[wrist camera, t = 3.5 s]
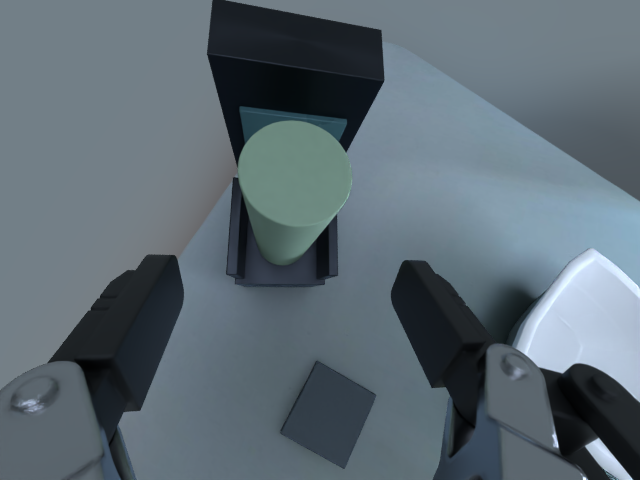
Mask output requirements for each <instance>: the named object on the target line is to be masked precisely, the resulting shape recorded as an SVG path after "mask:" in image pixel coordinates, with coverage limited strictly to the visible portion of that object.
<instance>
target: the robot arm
mask: <svg viewBox="0 0 640 480" xmlns="http://www.w3.org/2000/svg"><path fill="white" fill-rule="evenodd" d="M458 295H459V294H458V293H457V292H456V291H455V289H454V288H453V287H452V285H451V284H450V283H449V282H447V281H446V280H445V279H444V278H442V277H441V276H440V275H438V274H435V272H434V271H433V270H432V268H431V267H430V266H429V264H428V263H427V262H426V261H419V260H405V261H403V262H402V264H401V266H400V269H399V272H398V274H397V277H396V279H395V282H394V285H393V287H392V290H391V301H392V305H393V307H394V309H395V311H396V313H397V316H398V318H399V320H400V322H401V324H402V326H403V328H404V330H405V332H406V335H407V337H408V339H409V341H410V343H411V345H412V347H413V349H414V351H415V354H416V356H417V358H418V360H419V362H420V364H421V366H422V368H423V370H424V373H425V375H426V377H427V379H428V381H429V383H430V385H431V387H432V388H440V387H446V388H447V390H448V392H449V394H450V397H449V399H448V404H447V411H446V419H445V427H444V434H443V442H442V450H441V457H440V462H439V466H438V468H437V471H436V473H435V475H434V477H433V480H610V478H609V477H608V476H607V475H606V473H605V472H604V471H603V469H602V468H601V467H600V465H599V464H598V463H597V461H596V460H595V459H594V457H593V456H592V455H591V453H590V452H589V451H588V450H587V448H586V447H585V446H586V445H588V444H590V443H591V442H593V441H595V440H596V439H598V438H599V439H600V440H601V441H602V442H603V443H604V445H605V446H606V447H607V448H608V450H609V451H610V452H611V453H612V455H613V456H614V457H615V458H616V459H617V461H618V462H619V463H620V464H621V466H622V467H623V468H624V469H625V470H626V472H627V473H628V474H629V475H630V477H631V478H632V479H633V480H640V402H639V401H638V400H637V399H636V398H634V397H633V396H632V395H631V394H630V393H629V392H628V391H627V390H626V389H625V388H624V387H623V386H622V385H621V384H620V383H619V382H617V381H616V380H615V379H613V378H612V377H611V376H609V375H608V374H606V373H604V372H603V371H601V370H599V369H597V368H595V367H593V366H590V365H587V364H582V363H575V364H573V365H572V366H571V367H569V368H568V369H567V370H566V371H565V372H564V373H559V372H556V371H552V370H548V369H544V368H540V367H538V366H537V365H536V364H535V363H534V362H533V361H532V360H531V359H530V358H529V357H528V356H526V355H525V354H524V353H522V352H521V351H519V350H517V349H515V348H513V347H511V346H508V345H505V344H497V343H496V341H495V340H494V339H493V338H492V336H491V335H490V334H489V333H488V331H487V330H486V329H485V327H484V326H483V325H482V324H481V322H480V321H479V320H478V319H477V317H476V316H475V315H474V313H473V312H472V311H471V310H470V308H469V307H468V306H466V303H465V302H464V301H463V299H462V298H461V297H459V296H458ZM183 300H184V289H183V284H182V279H181V275H180V270H179V265H178V261H177V258H176V256H175V255H147V256H146V257H145V258H144V259H143V261H142V262H141V264H140V265H139V266H138V268H137V269H136V270H127V271H126V272H124V273H123V274H122V275H120V276H119V277H117V278H116V279H114V280H113V281H111V282H110V284H109V285H108V286H107V287H106V289H105V290H104V292H103V293H102V294H101V295H100V299H97V300H96V301H95V303H94V304H93V305H92V307H91V310H90V311H88V312H87V313H86V314H85V316H84V317H83V318H82V319H81V321H80V322H79V324H78V325H77V326H76V327H75V328H74V330H73V331H72V332H71V334H70V335H69V336H68V337H67V339H66V340H65V341H64V342H63V344H62V345H61V346H60V348H59V349H58V350H57V351H56V353H55V354H54V355H53V357H52V358H51V359H50V360H49V362H48V363H47V364H44V365H41V366H39V367H36V368H33V369H31V370H29V371H27V372H25V373H23V374H22V375H20V376H18V377H17V378H15V379H14V380H13V381H11V382H10V383H8V384H7V385H6V386H5V387H4V388H2V389H1V390H0V480H137V479H136V476H135V473H134V470H133V467H132V464H131V461H130V458H129V455H128V451H127V448H126V445H125V442H124V439H123V436H122V433H121V430H120V428H119V426H118V423H119V421H120V419H121V416H122V414H123V412H129V411H140V410H141V407H142V405H143V403H144V400H145V398H146V395H147V393H148V390H149V388H150V385H151V383H152V380H153V378H154V375H155V373H156V370H157V368H158V365H159V363H160V360H161V358H162V355H163V353H164V351H165V348H166V346H167V343H168V341H169V338H170V336H171V333H172V331H173V328H174V326H175V323H176V321H177V318H178V316H179V313H180V311H181V308H182V305H183Z"/></svg>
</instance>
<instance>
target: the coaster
mask: <svg viewBox="0 0 640 480" xmlns="http://www.w3.org/2000/svg"><path fill="white" fill-rule="evenodd" d="M375 398H376V395H375V394H374V393H372V392H370V391H368V390H367V389H365V388H363V387H361V386H360V385H358V384H356V383H355V382H353V381H351V380H349V379H348V378H346V377H344V376H343V375H341V374H339V373H337V372H336V371H334V370H332V369H330V368H329V367H327V366H325V365H324V364H322V363H320V362H318V361H317V362H316V364H315V365H314V367H313V369H312V371H311V373H310V375H309V377H308V379H307V381H306V383H305V385H304V387H303V389H302V391H301V393H300V394H299V396H298V398H297V400H296V402H295V404H294V406H293V408H292V410H291V412H290V414H289V416H288V418H287V420H286V421H285V423H284V425H283V427H282V429H281V434H282V435H284V436H286V437H288V438H289V439H291V440H293V441H295V442H297V443H298V444H300V445H302V446H304V447H306V448H307V449H309V450H311V451H313V452H315V453H316V454H318V455H320V456H322V457H323V458H325V459H327V460H329V461H331V462H332V463H334V464H336V465H338V466H340V467H341V468H343V469H345V467H346V464H347V462H348V460H349V457H350V455H351V453H352V451H353V448H354V446H355V444H356V441H357V439H358V437H359V435H360V432H361V430H362V428H363V425H364V423H365V421H366V419H367V416H368V414H369V412H370V409H371V407H372V405H373V403H374V400H375Z"/></svg>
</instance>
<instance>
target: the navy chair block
mask: <svg viewBox="0 0 640 480" xmlns="http://www.w3.org/2000/svg"><path fill="white" fill-rule="evenodd" d="M207 55H208V59H209V63H210V67H211V70H212V74H213V78H214V82H215V85H216V89H217V93H218V97H219V100H220V104H221V107H222V112H223V115H224V119H225V123H226V127H227V130H228V134H229V138H230V142H231V145H232V149H233V153H234V156H235V160H236V164H237V167H238V162H239V157H240V154H241V152H242V149H243V147H244V146H245V144H246V143H247V141H248V140H249V139H250V138H251V137H252V135H254V134H255V133H256V132H257V131H259V130H260V129H262V128H263V127H265V126H267V125H270V124H272V123H276V122H280V121H289V120H293V121H302V122H307V123H310V124H313V125H316V126H318V127H320V128H322V129H323V130H325V131H327V132H328V133H329V134H331V135H332V136H333V137H334V138H335V139H336V140H337V141H338V142H339V143H340V144H341V146H342V147H343V149H344V150H345V152H347V150H348V148H349V146H350V145H351V143H352V141H353V139H354V137H355V135H356V133H357V131H358V130H359V128H360V126H361V124H362V122H363V120H364V118H365V116H366V115H367V113H368V111H369V109H370V107H371V105H372V103H373V101H374V99H375V98H376V96H377V94H378V92H379V90H380V88H381V86H382V84H383V83H384V66H383V49H382V33H381V30H378V29H373V28H367V27H362V26H357V25H352V24H347V23H342V22H336V21H331V20H326V19H320V18H315V17H310V16H305V15H299V14H294V13H289V12H283V11H278V10H273V9H268V8H263V7H258V6H252V5H247V4H242V3H236V2H231V1H226V0H213V1H212V10H211V20H210V30H209V39H208V50H207ZM226 274H227V275H229V276H231V277H233V278H235V284H237V285H240V286H244V287H313V286H319V285H324V284H325V279H328V278H331V277H335V276H338V243H337V214H336V215H335V217H334V218H333V219H332V220H331V222H330V223H329V224H328V225H327V226H326V228H325V229H324V230H323V231H322V232H321V234H320V235H319V236H318V237H317V239H316V240H315V241H314V242H313V243H312V245H311V246H310V247H309V248H308V249H307V251H306V252H305V253H304V254H303V256H302V257H301V258H300V259H299V260H297V261H296V262H294V263H292V264H289V265H275V264H272V263H270V262H268V261H267V260H266V259H265V258H264V257H263V256H262V255H261V253H260V252H259V250H258V246H257V243H256V239H255V236H254V232H253V229H252V225H251V222H250V219H249V215H248V212H247V208H246V205H245V201H244V198H243V194H242V191H241V187H240V184H239V179H238V178H235V177H234V178H233V186H232V200H231V214H230V228H229V242H228V256H227V270H226Z"/></svg>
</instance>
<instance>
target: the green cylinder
mask: <svg viewBox="0 0 640 480" xmlns="http://www.w3.org/2000/svg"><path fill="white" fill-rule="evenodd" d="M238 179H239V184H240V187H241V191H242V194H243V198H244V201H245V205H246V208H247V212H248V215H249V219H250V222H251V225H252V229H253V232H254V236H255V239H256V243H257V246H258V250H259V252H260V253H261V255H262V256H263V257H264V258H265V259H266V260H267V261H268V262H270V263H272V264H275V265H289V264H292V263H294V262H296V261H297V260H299V259H300V258H301V257H302V256H303V254H304V253H305V252H306V251H307V249H308V248H309V247H310V246H311V245H312V243H313V242H314V241H315V240H316V239H317V237H318V236H319V235H320V234H321V232H322V231H323V230H324V229H325V228H326V226H327V225H328V224H329V223H330V222H331V220H332V219H333V218H334V217H335V215H336V214H337V213H338V212H339V211H340V209H341V208H342V207H343V205H344V204H345V202H346V201H347V199H348V197H349V194H350V191H351V186H352V169H351V165H350V161H349V159H348V156H347V154H346V152H345V150H344V149H343V147H342V146H341V144H340V143H339V142H338V141H337V140H336V139H335V138H334V137H333V136H332V135H331V134H329V133H328V132H327V131H325V130H323V129H322V128H320V127H318V126H316V125H313V124H310V123H307V122H302V121H293V120H289V121H280V122H276V123H272V124H270V125H267V126H265V127H263V128H262V129H260V130H259V131H257V132H256V133H255V134H254V135H252V137H251V138H250V139H249V140H248V141H247V143H246V144H245V146H244V147H243V149H242V152H241V154H240V157H239V162H238Z"/></svg>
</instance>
